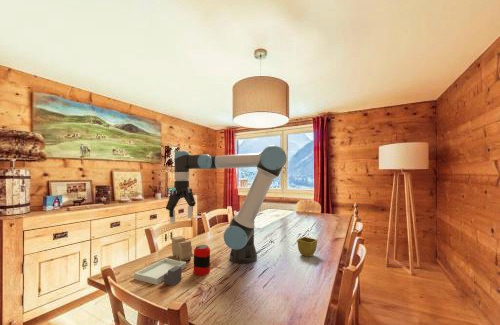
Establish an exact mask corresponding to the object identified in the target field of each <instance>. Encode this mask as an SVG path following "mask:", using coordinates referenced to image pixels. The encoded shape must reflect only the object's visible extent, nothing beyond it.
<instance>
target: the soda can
mask: <svg viewBox="0 0 500 325" xmlns="http://www.w3.org/2000/svg"><path fill="white" fill-rule="evenodd" d="M210 272H211V248H210V247H209V246H208V244H198V245H197V246H196V247H195V248H194V249H193V274H194V275H195V276H206V275H208V274H209V273H210Z"/></svg>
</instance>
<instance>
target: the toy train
mask: <svg viewBox="0 0 500 325" xmlns="http://www.w3.org/2000/svg"><path fill="white" fill-rule="evenodd" d="M192 248H193V246H192V241H191V240H186V237H185V236H183V235H177V236H172V237H171V252H172V253H171V254H172V256H173V257H175V258H176V259H178V261H183V262H186V261H188V260H191V259H192V258H194V253H193V250H192Z"/></svg>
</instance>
